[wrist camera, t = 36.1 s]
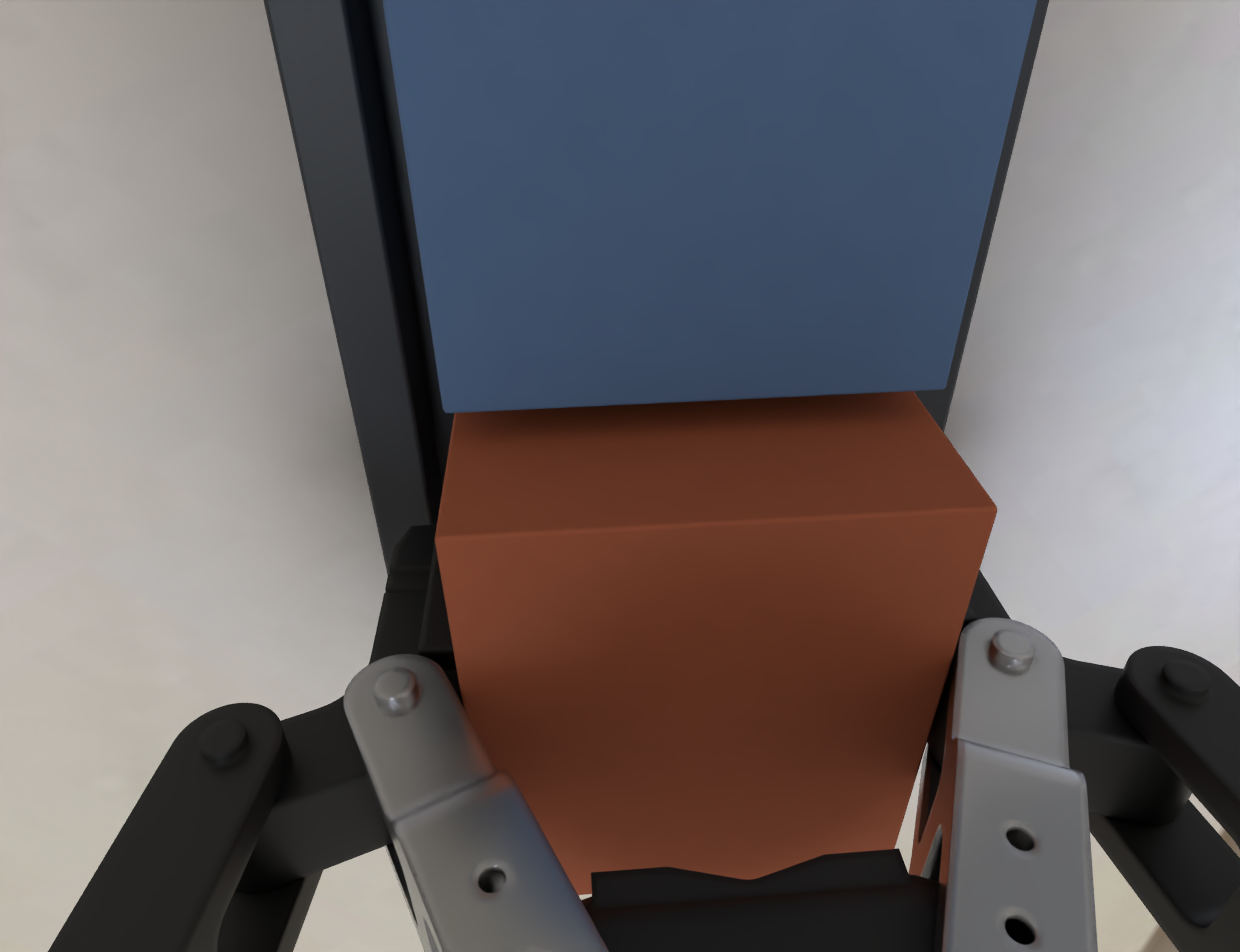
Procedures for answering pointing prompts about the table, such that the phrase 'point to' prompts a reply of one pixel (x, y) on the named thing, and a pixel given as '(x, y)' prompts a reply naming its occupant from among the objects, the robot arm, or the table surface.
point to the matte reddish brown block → (708, 619)
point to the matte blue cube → (699, 191)
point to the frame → (389, 251)
